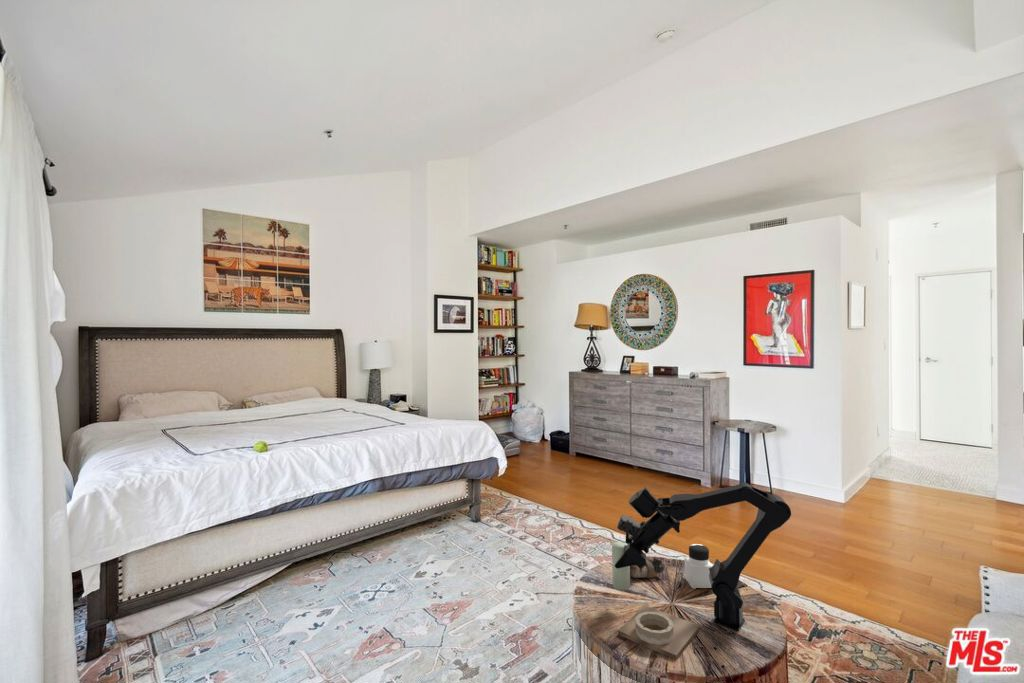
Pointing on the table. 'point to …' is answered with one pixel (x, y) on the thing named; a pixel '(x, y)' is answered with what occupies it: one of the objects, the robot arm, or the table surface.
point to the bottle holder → (659, 631)
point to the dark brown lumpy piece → (647, 569)
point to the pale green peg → (621, 574)
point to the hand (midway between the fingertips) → (616, 562)
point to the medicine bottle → (698, 566)
